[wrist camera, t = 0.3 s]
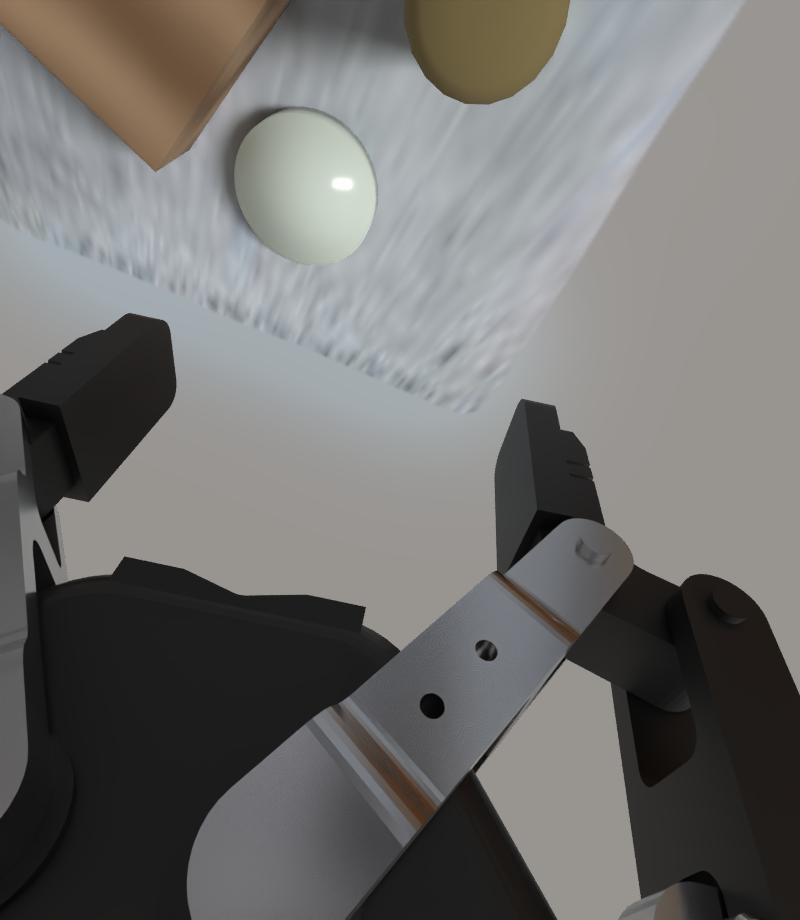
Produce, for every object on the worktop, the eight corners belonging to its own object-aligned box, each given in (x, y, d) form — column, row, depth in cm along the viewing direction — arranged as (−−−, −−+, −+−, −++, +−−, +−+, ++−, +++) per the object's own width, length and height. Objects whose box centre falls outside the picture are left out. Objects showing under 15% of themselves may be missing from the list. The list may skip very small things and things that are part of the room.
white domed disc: (303, 67, 26) (292, 73, 25) (406, 195, 30) (402, 207, 29) (220, 177, 31) (207, 187, 30) (318, 277, 35) (311, 290, 33)
